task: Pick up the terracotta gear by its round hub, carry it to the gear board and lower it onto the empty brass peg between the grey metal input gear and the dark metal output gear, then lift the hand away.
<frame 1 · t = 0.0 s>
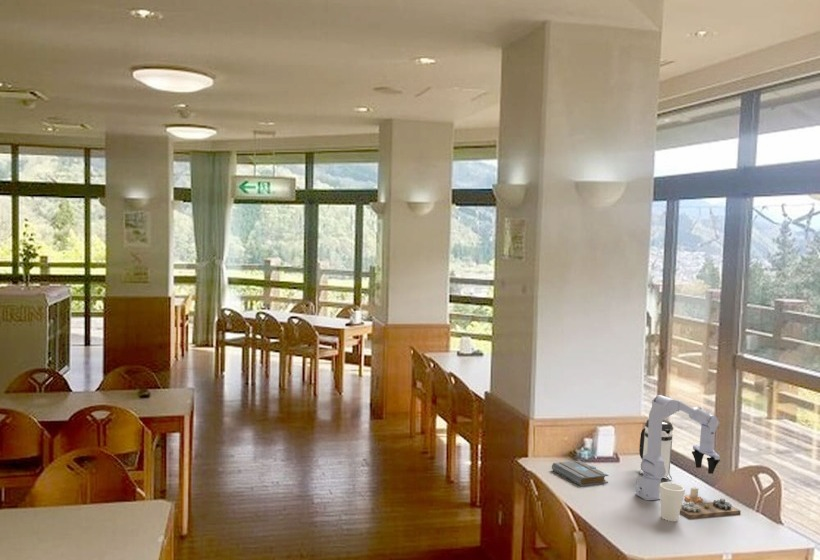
hand: (704, 470, 309), 10 cm above the table, tool pointing down, fingers open, 7 cm apart
loose gear: (693, 501, 298), on the table
gear board: (706, 511, 287), on the table
output gear: (722, 503, 289), point 3 cm above the table, hinge at 0.0°, touching gear board
book: (579, 478, 321), on the table
foam cup: (669, 518, 277), on the table
coffee press: (652, 476, 328), on the table
input gear: (691, 505, 284), point 3 cm above the table, hinge at 0.0°, touching gear board
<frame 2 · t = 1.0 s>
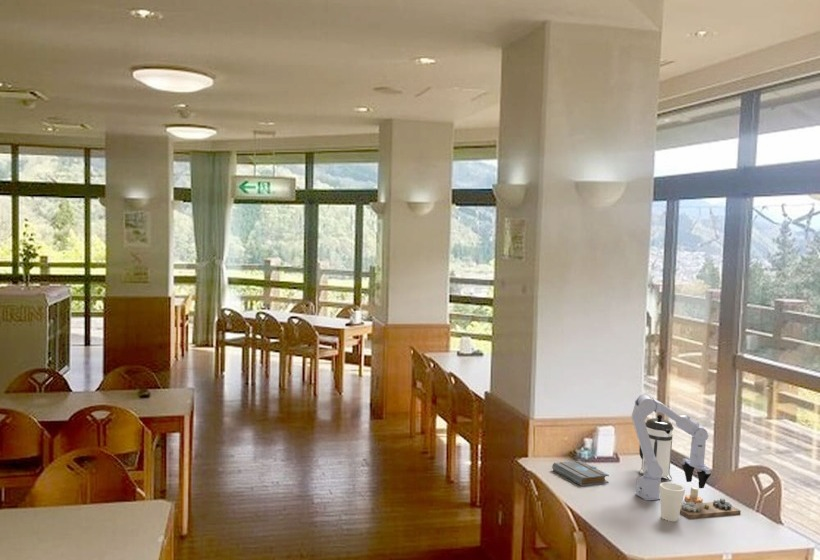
hand: (695, 484, 298), 7 cm above the table, tool pointing down, fingers open, 7 cm apart
nothing on the table moved.
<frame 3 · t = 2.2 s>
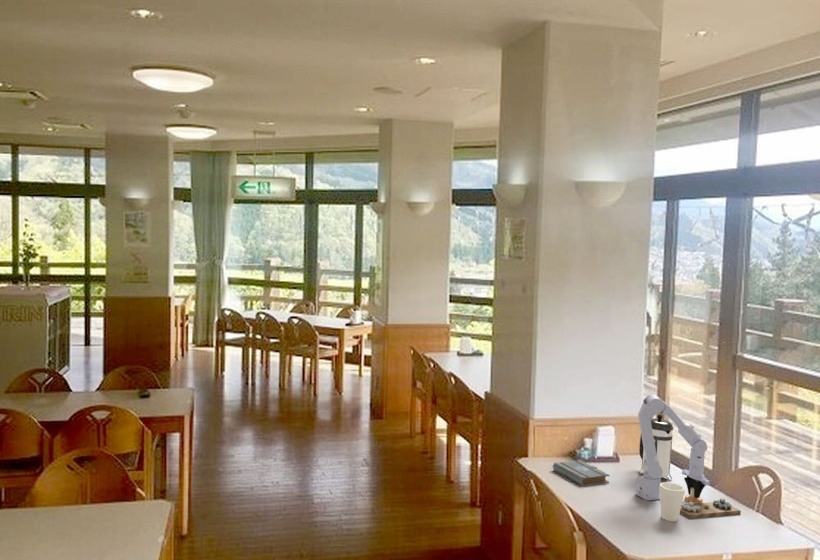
hand: (693, 496, 298), 2 cm above the table, tool pointing down, fingers closed on loose gear, 3 cm apart
loose gear: (693, 501, 298), on the table, touching gripper
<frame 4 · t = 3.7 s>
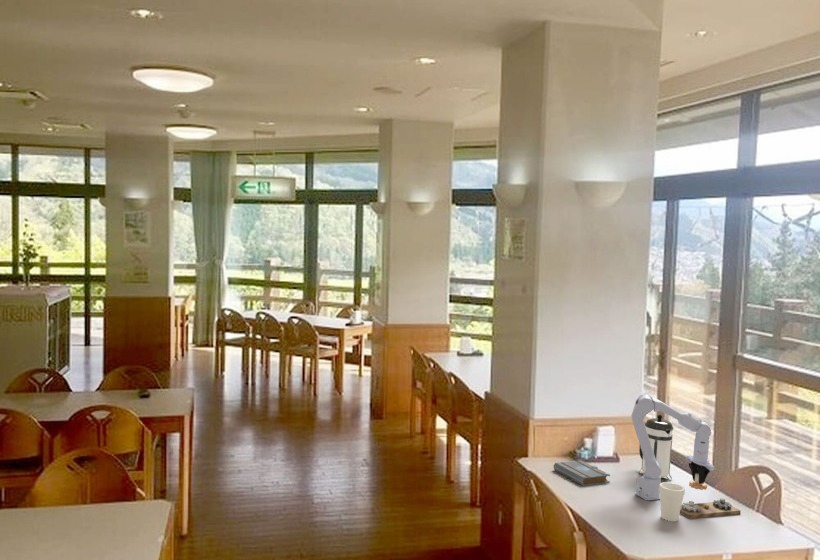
hand: (698, 481, 295), 9 cm above the table, tool pointing down, fingers closed on loose gear, 3 cm apart
loose gear: (698, 486, 295), point 7 cm above the table, touching gripper
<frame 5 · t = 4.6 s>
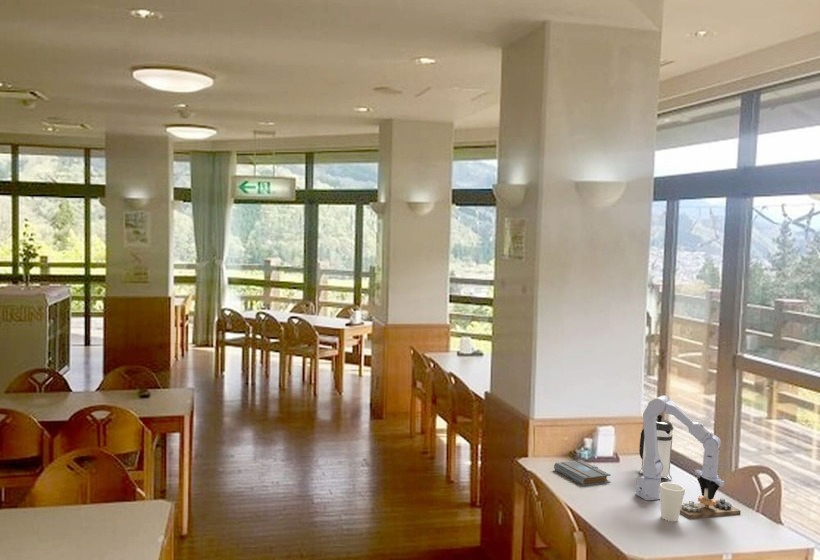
hand: (707, 497, 286), 6 cm above the table, tool pointing down, fingers closed on loose gear, 3 cm apart
loose gear: (707, 502, 287), point 4 cm above the table, touching gripper
when the fingers open (4 cm above the table, at t = 5.3 s): loose gear stays where it is, resting on gear board.
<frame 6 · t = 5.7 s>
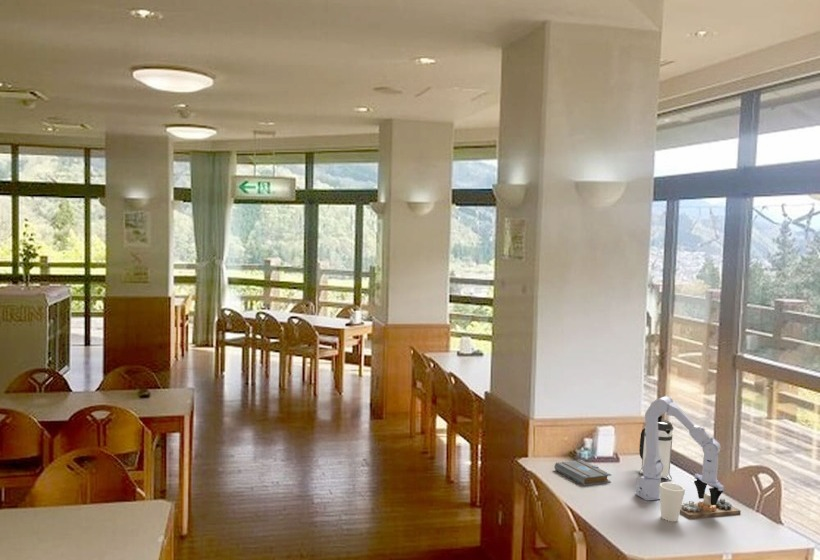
hand: (707, 501, 286), 4 cm above the table, tool pointing down, fingers open, 6 cm apart
loose gear: (706, 507, 287), point 1 cm above the table, touching gear board
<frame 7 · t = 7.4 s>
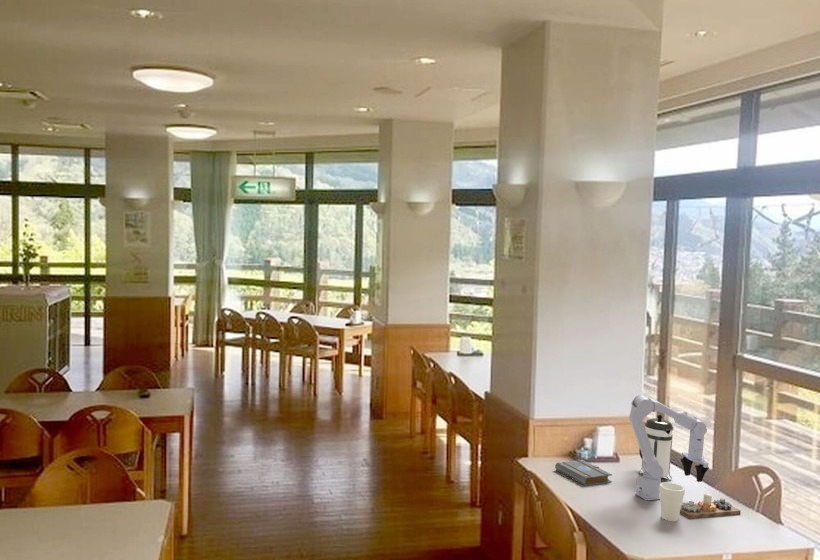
hand: (693, 478, 299), 9 cm above the table, tool pointing down, fingers open, 7 cm apart
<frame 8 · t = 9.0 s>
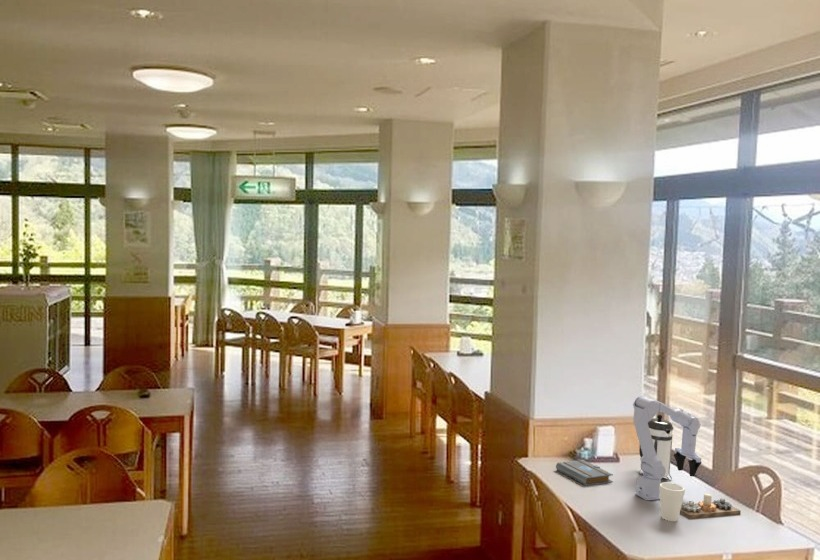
hand: (686, 473, 306), 9 cm above the table, tool pointing down, fingers open, 7 cm apart
at the end: loose gear 0.1 cm off-centre on the gear board, point 1.5 cm above the gear board's base; loose gear tilted 0°; the gripper is holding nothing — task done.
